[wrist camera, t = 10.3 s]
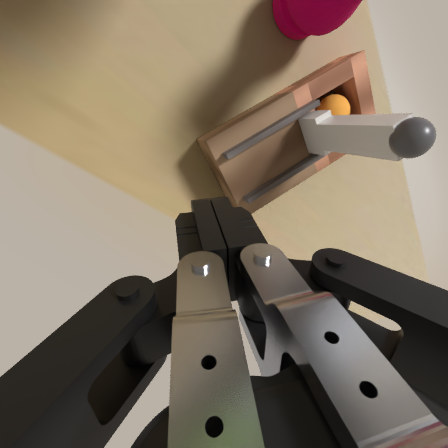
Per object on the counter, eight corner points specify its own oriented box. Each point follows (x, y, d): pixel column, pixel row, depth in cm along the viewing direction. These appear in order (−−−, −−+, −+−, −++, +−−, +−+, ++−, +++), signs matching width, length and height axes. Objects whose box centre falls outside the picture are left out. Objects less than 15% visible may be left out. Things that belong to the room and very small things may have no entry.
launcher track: (196, 139, 32) (209, 142, 27) (339, 57, 35) (373, 47, 30) (231, 209, 37) (248, 221, 32) (355, 132, 39) (387, 133, 35)
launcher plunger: (294, 121, 31) (412, 121, 19) (315, 108, 31) (444, 100, 19) (305, 154, 33) (418, 175, 21) (325, 142, 33) (447, 155, 21)
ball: (314, 97, 36) (309, 107, 34) (347, 85, 34) (344, 94, 31) (322, 126, 38) (318, 137, 35) (354, 116, 36) (352, 127, 33)
